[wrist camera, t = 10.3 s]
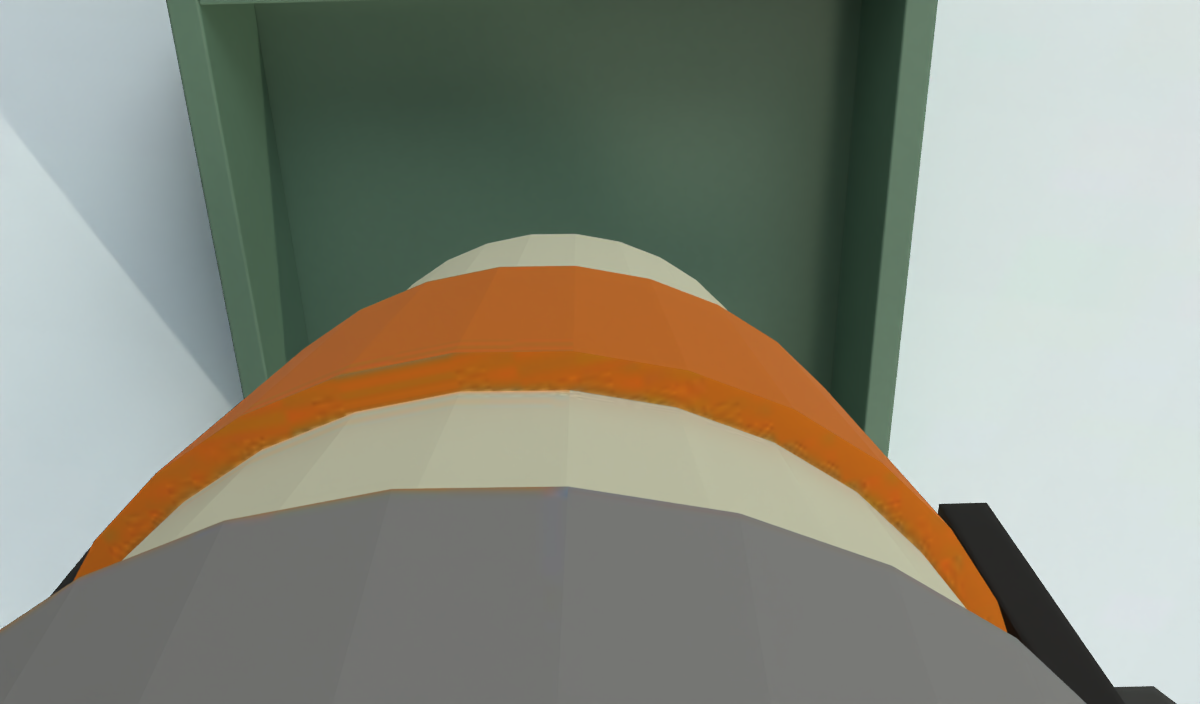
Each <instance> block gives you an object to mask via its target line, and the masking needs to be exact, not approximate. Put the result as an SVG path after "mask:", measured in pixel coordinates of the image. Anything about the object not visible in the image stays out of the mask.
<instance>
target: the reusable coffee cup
mask: <svg viewBox="0 0 1200 704" xmlns="http://www.w3.org/2000/svg"><path fill="white" fill-rule="evenodd" d="M0 704H1086V703H1085V702H1084V701H1083V700H1082V699H1081V698H1080V697H1079V696H1078V695H1077V694H1076V693H1075V692H1074V691H1073V690H1071V689H1070V688H1069V687H1068V686H1067V685H1066V684H1065V683H1064V682H1063V681H1062V680H1061V679H1060V678H1059V677H1058V676H1056V675H1055V674H1054V673H1053V672H1052V671H1051V670H1050V669H1049V668H1048V667H1047V666H1046V665H1045V664H1044V663H1043V662H1042V661H1040V660H1039V659H1038V658H1037V657H1036V656H1035V655H1034V654H1033V653H1032V652H1031V651H1030V650H1029V649H1028V648H1027V647H1025V646H1024V645H1023V644H1022V643H1021V642H1020V641H1019V640H1018V639H1017V638H1015V637H1014V636H1012V635H1010V634H1009V633H1007V630H1006V627H1005V624H1004V621H1003V617H1002V614H1001V611H1000V608H999V605H998V602H997V600H996V598H995V597H994V595H993V594H992V592H991V591H990V589H989V587H988V586H987V584H986V583H985V581H984V580H983V578H982V576H981V575H980V573H979V572H978V570H977V569H976V567H975V566H974V564H973V562H972V561H971V559H970V558H969V556H968V555H967V553H966V551H965V550H964V548H963V547H962V545H961V544H960V542H959V540H958V539H957V537H956V536H955V534H954V533H953V531H952V529H951V528H950V527H949V526H948V525H947V524H946V523H945V522H944V520H943V519H942V518H941V517H940V516H939V515H938V514H937V513H936V512H935V510H934V509H933V508H932V507H931V506H930V505H929V504H928V503H927V501H926V500H925V499H924V498H923V497H922V496H921V495H920V494H919V493H918V491H917V490H916V489H915V488H914V487H913V486H912V485H911V484H910V483H909V481H908V480H907V479H906V478H905V477H904V476H903V475H902V474H901V473H900V471H899V470H898V469H897V468H896V467H895V466H894V465H893V464H892V462H891V461H890V460H889V459H888V458H887V457H886V456H885V455H884V454H883V452H882V451H881V450H880V449H879V448H878V447H877V446H876V445H875V444H874V442H873V441H872V440H871V439H870V438H869V437H868V436H867V435H866V434H865V432H864V431H863V430H862V429H861V428H860V427H859V426H858V425H857V424H856V422H855V421H854V420H853V419H852V418H851V417H850V416H849V415H848V413H847V412H846V411H845V410H844V409H843V408H842V407H841V406H840V405H839V403H838V402H837V401H836V400H835V399H834V398H833V397H832V396H831V395H830V393H829V392H828V391H827V390H826V389H825V388H824V387H823V386H822V385H821V384H820V383H819V382H818V381H817V380H816V379H815V378H814V377H813V376H812V375H811V374H810V373H809V372H808V371H807V370H806V369H805V368H804V367H802V366H801V365H800V364H799V363H798V362H797V361H796V360H795V359H794V358H793V357H792V356H791V355H790V354H789V353H788V352H787V351H786V350H785V349H784V348H783V347H782V346H781V345H780V344H779V343H778V342H777V341H775V340H773V339H772V338H770V337H769V336H767V335H765V334H764V333H762V332H761V331H759V330H757V329H756V328H754V327H753V326H751V325H749V324H748V323H746V322H745V321H743V320H741V319H740V318H738V317H737V316H735V315H734V314H732V313H730V312H729V311H727V309H726V308H725V307H724V306H723V305H722V304H721V303H720V302H718V301H717V300H716V299H715V298H714V297H713V296H712V295H711V294H710V293H709V292H708V291H707V290H706V289H705V288H704V287H703V286H702V285H701V284H700V283H699V282H698V281H697V280H695V279H694V278H692V277H691V276H689V275H687V274H686V273H684V272H683V271H681V270H679V269H678V268H676V267H675V266H673V265H672V264H670V263H668V262H667V261H665V260H664V259H662V258H660V257H658V256H655V255H653V254H650V253H648V252H645V251H642V250H640V249H637V248H635V247H632V246H629V245H627V244H624V243H622V242H618V241H613V240H607V239H602V238H596V237H590V236H585V235H579V234H531V235H526V236H521V237H516V238H511V239H507V240H502V241H497V242H492V243H487V244H485V245H483V246H480V247H478V248H476V249H473V250H471V251H468V252H466V253H464V254H461V255H459V256H457V257H454V258H452V259H449V260H447V261H446V262H444V263H443V264H441V265H440V266H439V267H437V268H436V269H434V270H433V271H431V272H430V273H428V274H427V275H425V276H424V277H423V278H421V279H420V280H418V281H417V282H415V283H414V284H413V285H411V286H410V287H409V288H408V289H407V290H406V291H404V292H401V293H399V294H396V295H394V296H392V297H389V298H387V299H385V300H382V301H380V302H377V303H375V304H373V305H370V306H368V307H365V308H363V309H361V310H359V311H358V312H356V313H355V314H353V315H352V316H351V317H349V318H348V319H346V320H345V321H343V322H342V323H340V324H339V325H337V326H336V327H335V328H333V329H332V330H330V331H329V332H327V333H326V334H324V335H323V336H321V337H320V338H319V339H317V340H316V341H314V342H313V343H311V344H310V345H308V346H307V347H306V348H304V349H303V350H302V351H301V352H299V353H298V354H297V355H296V356H295V357H293V358H292V359H291V360H290V361H289V362H288V363H286V364H285V365H284V366H283V367H282V368H280V369H279V370H278V371H277V372H276V373H274V374H273V375H272V376H271V377H270V378H269V379H267V380H266V381H265V382H264V383H263V384H261V385H260V386H259V387H258V388H257V389H256V390H254V391H253V392H252V393H251V394H250V395H248V396H247V397H246V398H245V399H244V400H242V401H241V402H240V403H239V404H238V405H237V406H235V407H234V408H233V409H232V410H231V411H229V412H228V413H227V414H226V415H225V416H224V417H222V418H221V419H220V420H219V421H218V422H216V423H215V424H214V425H213V426H212V427H210V428H209V429H208V430H207V431H206V432H205V433H203V434H202V435H201V436H200V437H199V438H197V439H196V440H195V441H194V442H193V443H191V444H190V445H189V446H188V447H187V448H186V449H184V450H183V451H182V452H181V453H180V454H178V455H177V456H176V457H175V458H174V459H173V460H171V461H170V462H169V463H168V464H167V465H165V466H164V467H163V468H162V469H161V470H159V471H158V472H157V473H156V474H155V475H154V476H153V477H152V478H151V479H150V481H149V482H148V483H147V484H146V485H145V486H144V487H143V488H142V489H141V490H140V491H139V493H138V494H137V495H136V496H135V497H134V498H133V499H132V500H131V501H130V502H129V504H128V505H127V506H126V507H125V508H124V509H123V510H122V511H121V512H120V513H119V514H118V516H117V517H116V518H115V519H114V520H113V521H112V522H111V523H110V524H109V525H108V527H107V528H106V529H105V530H104V531H103V532H102V533H101V534H100V535H99V536H98V537H97V539H96V540H95V541H94V542H93V544H92V546H91V548H90V550H89V552H88V554H87V556H86V558H85V560H84V561H83V563H82V565H81V567H80V569H79V571H78V573H77V575H76V577H75V579H74V580H73V582H71V583H70V584H68V585H67V586H65V587H64V588H62V589H61V590H59V591H58V592H56V593H55V594H53V595H52V596H50V597H49V598H47V599H46V600H44V601H43V602H41V603H40V604H38V605H37V606H35V607H34V608H32V609H31V610H29V611H28V612H26V613H25V614H23V615H22V616H20V617H19V618H17V619H16V620H14V621H13V622H11V623H10V624H8V625H7V626H5V627H4V628H2V629H1V630H0Z"/></svg>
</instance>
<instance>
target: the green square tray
mask: <svg viewBox="0 0 1200 704" xmlns="http://www.w3.org/2000/svg"><path fill="white" fill-rule="evenodd" d="M166 2H167V8H168V13H169V18H170V23H171V28H172V33H173V38H174V43H175V49H176V54H177V59H178V64H179V69H180V74H181V79H182V84H183V90H184V95H185V100H186V105H187V110H188V115H189V120H190V125H191V131H192V136H193V141H194V146H195V151H196V156H197V161H198V166H199V172H200V177H201V182H202V187H203V192H204V197H205V202H206V207H207V212H208V218H209V223H210V228H211V233H212V238H213V243H214V248H215V253H216V259H217V264H218V269H219V274H220V279H221V284H222V289H223V294H224V300H225V305H226V310H227V315H228V320H229V325H230V330H231V335H232V341H233V346H234V351H235V356H236V361H237V366H238V371H239V376H240V382H241V387H242V392H243V397H244V399H245V398H246V397H247V396H248V395H250V394H251V393H252V392H253V391H254V390H256V389H257V388H258V387H259V386H260V385H261V384H263V383H264V382H265V381H266V380H267V379H269V378H270V377H271V376H272V375H273V374H274V373H276V372H277V371H278V370H279V369H280V368H282V367H283V366H284V365H285V364H286V363H288V362H289V361H290V360H291V359H292V358H293V357H295V356H296V355H297V354H298V353H299V352H301V351H302V350H303V349H304V348H306V347H307V346H308V345H310V344H311V343H313V342H314V341H316V340H317V339H319V338H320V337H321V336H323V335H324V334H326V333H327V332H329V331H330V330H332V329H333V328H335V327H336V326H337V325H339V324H340V323H342V322H343V321H345V320H346V319H348V318H349V317H351V316H352V315H353V314H355V313H356V312H358V311H359V310H361V309H363V308H365V307H368V306H370V305H373V304H375V303H377V302H380V301H382V300H385V299H387V298H389V297H392V296H394V295H396V294H399V293H401V292H404V291H406V290H407V289H408V288H409V287H410V286H411V285H413V284H414V283H415V282H417V281H418V280H420V279H421V278H423V277H424V276H425V275H427V274H428V273H430V272H431V271H433V270H434V269H436V268H437V267H439V266H440V265H441V264H443V263H444V262H446V261H447V260H449V259H452V258H454V257H457V256H459V255H461V254H464V253H466V252H468V251H471V250H473V249H476V248H478V247H480V246H483V245H485V244H487V243H492V242H497V241H502V240H507V239H511V238H516V237H521V236H526V235H531V234H579V235H585V236H590V237H596V238H602V239H607V240H613V241H618V242H622V243H624V244H627V245H629V246H632V247H635V248H637V249H640V250H642V251H645V252H648V253H650V254H653V255H655V256H658V257H660V258H662V259H664V260H665V261H667V262H668V263H670V264H672V265H673V266H675V267H676V268H678V269H679V270H681V271H683V272H684V273H686V274H687V275H689V276H691V277H692V278H694V279H695V280H697V281H698V282H699V283H700V284H701V285H702V286H703V287H704V288H705V289H706V290H707V291H708V292H709V293H710V294H711V295H712V296H713V297H714V298H715V299H716V300H717V301H718V302H720V303H721V304H722V305H723V306H724V307H725V308H726V309H727V311H729V312H730V313H732V314H734V315H735V316H737V317H738V318H740V319H741V320H743V321H745V322H746V323H748V324H749V325H751V326H753V327H754V328H756V329H757V330H759V331H761V332H762V333H764V334H765V335H767V336H769V337H770V338H772V339H773V340H775V341H777V342H778V343H779V344H780V345H781V346H782V347H783V348H784V349H785V350H786V351H787V352H788V353H789V354H790V355H791V356H792V357H793V358H794V359H795V360H796V361H797V362H798V363H799V364H800V365H801V366H802V367H804V368H805V369H806V370H807V371H808V372H809V373H810V374H811V375H812V376H813V377H814V378H815V379H816V380H817V381H818V382H819V383H820V384H821V385H822V386H823V387H824V388H825V389H826V390H827V391H828V392H829V393H830V395H831V396H832V397H833V398H834V399H835V400H836V401H837V402H838V403H839V405H840V406H841V407H842V408H843V409H844V410H845V411H846V412H847V413H848V415H849V416H850V417H851V418H852V419H853V420H854V421H855V422H856V424H857V425H858V426H859V427H860V428H861V429H862V430H863V431H864V432H865V434H866V435H867V436H868V437H869V438H870V439H871V440H872V441H873V442H874V444H875V445H876V446H877V447H878V448H879V449H880V450H881V451H882V452H883V454H884V455H885V456H886V457H887V458H888V450H889V441H890V431H891V422H892V413H893V404H894V395H895V386H896V377H897V368H898V358H899V349H900V340H901V331H902V322H903V313H904V304H905V295H906V286H907V276H908V267H909V258H910V249H911V240H912V231H913V222H914V213H915V203H916V194H917V185H918V176H919V167H920V158H921V149H922V140H923V131H924V121H925V112H926V103H927V94H928V85H929V76H930V67H931V58H932V48H933V39H934V30H935V21H936V12H937V3H938V0H166Z"/></svg>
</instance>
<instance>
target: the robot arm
mask: <svg viewBox="0 0 1200 704" xmlns="http://www.w3.org/2000/svg"><path fill="white" fill-rule="evenodd" d="M938 515H939V516H940V517H941V518H942V519H943V520H944V522H945V523H946V524H947V525H948V526H949V527H950V528H951V529H952V531H953V533H954V534H955V536H956V537H957V539H958V540H959V542H960V544H961V545H962V547H963V548H964V550H965V551H966V553H967V555H968V556H969V558H970V559H971V561H972V562H973V564H974V566H975V567H976V569H977V570H978V572H979V573H980V575H981V576H982V578H983V580H984V581H985V583H986V584H987V586H988V587H989V589H990V591H991V592H992V594H993V595H994V597H995V598H996V600H997V602H998V605H999V608H1000V611H1001V614H1002V617H1003V621H1004V624H1005V627H1006V630H1007V633H1009V634H1010V635H1012V636H1014V637H1015V638H1017V639H1018V640H1019V641H1020V642H1021V643H1022V644H1023V645H1024V646H1025V647H1027V648H1028V649H1029V650H1030V651H1031V652H1032V653H1033V654H1034V655H1035V656H1036V657H1037V658H1038V659H1039V660H1040V661H1042V662H1043V663H1044V664H1045V665H1046V666H1047V667H1048V668H1049V669H1050V670H1051V671H1052V672H1053V673H1054V674H1055V675H1056V676H1058V677H1059V678H1060V679H1061V680H1062V681H1063V682H1064V683H1065V684H1066V685H1067V686H1068V687H1069V688H1070V689H1071V690H1073V691H1074V692H1075V693H1076V694H1077V695H1078V696H1079V697H1080V698H1081V699H1082V700H1083V701H1084V702H1085V703H1086V704H1176V703H1175V702H1173V701H1172V700H1171V699H1170V698H1168V697H1167V696H1166V695H1164V694H1163V693H1162V692H1160V691H1159V690H1158V689H1156V688H1155V687H1154V686H1146V687H1113V685H1112V684H1111V682H1110V681H1109V679H1108V678H1107V677H1106V675H1105V674H1104V672H1103V671H1102V669H1101V668H1100V666H1099V665H1098V664H1097V662H1096V661H1095V659H1094V658H1093V656H1092V655H1091V653H1090V652H1089V650H1088V649H1087V648H1086V646H1085V645H1084V643H1083V642H1082V640H1081V639H1080V637H1079V636H1078V635H1077V633H1076V632H1075V630H1074V629H1073V627H1072V626H1071V624H1070V623H1069V621H1068V620H1067V619H1066V617H1065V616H1064V614H1063V613H1062V611H1061V610H1060V608H1059V607H1058V606H1057V604H1056V603H1055V601H1054V600H1053V598H1052V597H1051V595H1050V594H1049V592H1048V591H1047V590H1046V588H1045V587H1044V585H1043V584H1042V582H1041V581H1040V579H1039V578H1038V577H1037V575H1036V574H1035V572H1034V571H1033V569H1032V568H1031V566H1030V565H1029V563H1028V562H1027V561H1026V559H1025V558H1024V556H1023V555H1022V553H1021V552H1020V550H1019V549H1018V548H1017V546H1016V545H1015V543H1014V542H1013V540H1012V539H1011V537H1010V536H1009V535H1008V533H1007V532H1006V530H1005V529H1004V527H1003V526H1002V524H1001V523H1000V521H999V520H998V519H997V517H996V516H995V514H994V513H993V511H992V510H991V508H990V507H989V506H988V504H987V503H961V504H939V510H938ZM90 548H91V547H90ZM89 550H90V549H89ZM89 550H88V551H87V552H86V553H85V555H84V556H83V557H82V558H81V559H80V561H79V562H78V563H77V564H76V566H75V567H74V568H73V569H72V570H71V572H70V573H69V574H68V575H67V576H66V578H65V579H64V580H63V581H62V583H61V584H60V585H59V586H58V587H57V589H56V590H55V591H54V592H53V593H52V595H53V594H55V593H56V592H58V591H59V590H61V589H62V588H64V587H65V586H67V585H68V584H70V583H71V582H73V580H74V579H75V577H76V575H77V573H78V571H79V569H80V567H81V565H82V563H83V561H84V560H85V558H86V556H87V554H88V552H89ZM52 595H51V596H52Z"/></svg>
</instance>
